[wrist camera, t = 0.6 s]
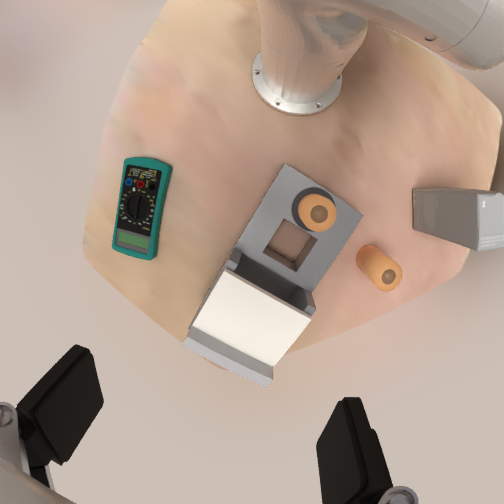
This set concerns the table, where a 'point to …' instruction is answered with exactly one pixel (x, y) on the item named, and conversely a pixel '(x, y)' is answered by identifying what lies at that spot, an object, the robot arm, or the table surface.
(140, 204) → the digital multimeter
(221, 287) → the lid
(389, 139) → the table surface
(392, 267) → the peg
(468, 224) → the skincare box
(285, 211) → the housing
